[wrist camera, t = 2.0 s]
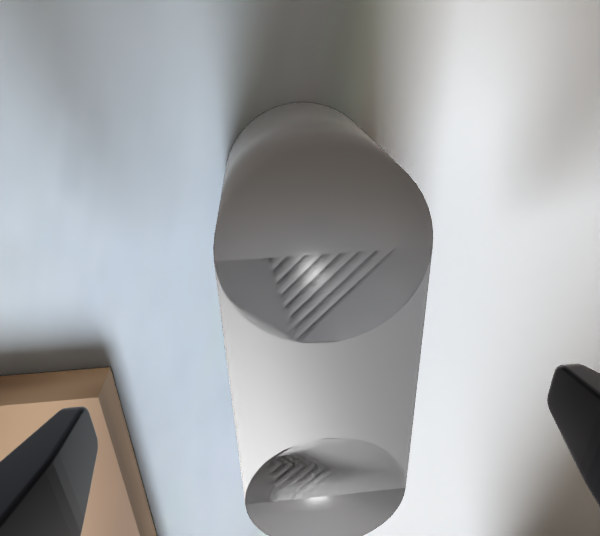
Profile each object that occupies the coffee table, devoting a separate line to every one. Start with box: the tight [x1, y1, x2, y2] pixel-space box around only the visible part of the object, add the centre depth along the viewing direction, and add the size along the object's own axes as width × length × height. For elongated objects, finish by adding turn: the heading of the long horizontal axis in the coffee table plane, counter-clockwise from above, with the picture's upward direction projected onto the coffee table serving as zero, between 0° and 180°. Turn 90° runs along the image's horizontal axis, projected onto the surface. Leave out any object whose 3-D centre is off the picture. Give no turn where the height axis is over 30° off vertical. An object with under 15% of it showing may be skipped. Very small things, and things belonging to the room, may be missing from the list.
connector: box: [213, 102, 433, 536], centre depth 11 cm, size 4×12×4 cm, turn 2°
